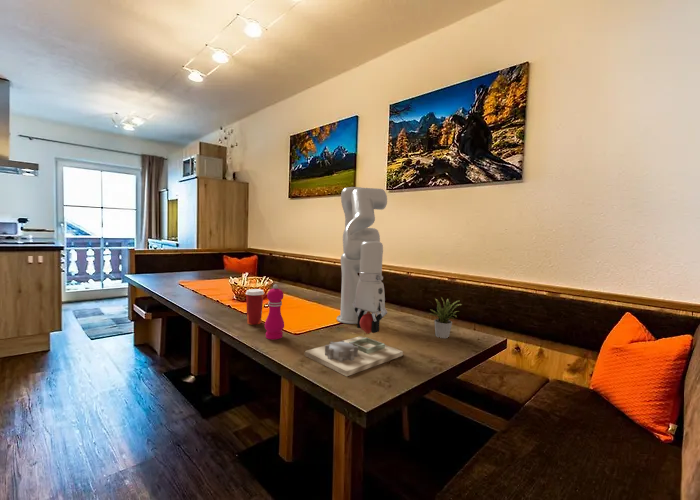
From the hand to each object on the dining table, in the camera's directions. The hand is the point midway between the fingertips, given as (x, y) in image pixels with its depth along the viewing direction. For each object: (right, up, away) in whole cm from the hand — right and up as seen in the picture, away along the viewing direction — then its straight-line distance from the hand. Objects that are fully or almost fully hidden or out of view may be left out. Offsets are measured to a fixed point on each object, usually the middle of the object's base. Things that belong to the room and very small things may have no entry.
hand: (368, 329), depth 117 cm
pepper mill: (-35, -6, +12) cm, 37 cm away
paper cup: (-47, -4, +29) cm, 55 cm away
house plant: (+33, -8, +21) cm, 40 cm away
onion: (0, -2, 0) cm, 2 cm away
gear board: (-5, -8, -4) cm, 10 cm away
